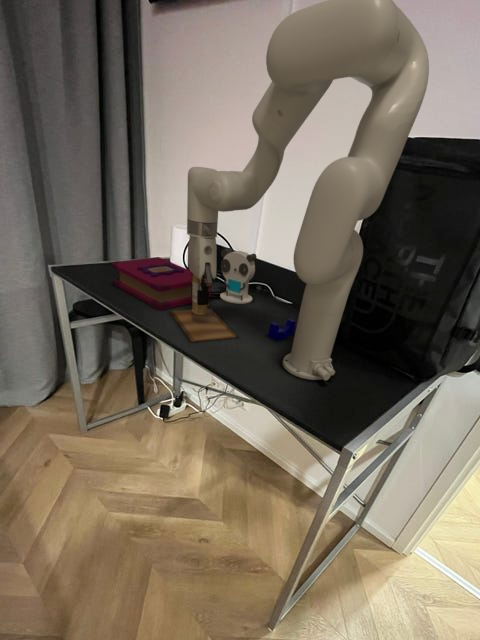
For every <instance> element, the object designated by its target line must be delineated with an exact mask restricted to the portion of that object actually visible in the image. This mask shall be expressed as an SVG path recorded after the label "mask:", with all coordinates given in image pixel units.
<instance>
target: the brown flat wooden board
mask: <svg viewBox="0 0 480 640" xmlns="http://www.w3.org/2000/svg"><path fill="white" fill-rule="evenodd" d="M170 314H171V316H172V317H173V318H174V320H175V321H176V322H177V324H178V326H179V327H180V328H181V330H182V331H183V333H184V334H185V335H186V336H187V338H188V339H189V341H190V342H191V343H192V342H201V341H203V342H204V341H213V340H223V339H233V338H237V334H236V333H235V332H234V331H233V330H232V329H231V328H230V327H229V325H227V323H225V322H224V321H223V320H222V319H221V318H220V316H219V315H218V314H217V313H216V312H215V311H214V310H213V309H212V308H207V313H206V314H203V315H198V314H195V313H193V312H192V309H185V310H183V309H182V310H170Z"/></svg>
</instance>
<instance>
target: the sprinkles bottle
mask: <svg viewBox="0 0 480 640" xmlns="http://www.w3.org/2000/svg"><path fill="white" fill-rule="evenodd" d="M192 269H193V268H192ZM202 277H203V278H205V276H202ZM203 282H205V281H202V284H203ZM198 290H199V280H198V278H197V277H196V276H195V275H194V273H193V281H192V303H191V305H192V308H191V310H192V312H193V313H195V314H198V315H203V314H206V313H207V309H208V305H198V304H197V291H198Z"/></svg>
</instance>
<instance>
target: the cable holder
mask: <svg viewBox="0 0 480 640" xmlns="http://www.w3.org/2000/svg"><path fill="white" fill-rule="evenodd" d="M296 324H297V322H296V320H295V319H293V318H288V319H286V322H285V324H284V326H282V327H281V328H280V324H278V323H277V322H275V321H272V322H269V327H268V335H267V337H269V338H270V339H272V340H273V341H275V342H277V341H283V340H287V337H288V336H292V335H294V333H295V329H296Z"/></svg>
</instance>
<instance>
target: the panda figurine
mask: <svg viewBox="0 0 480 640" xmlns="http://www.w3.org/2000/svg"><path fill="white" fill-rule="evenodd" d="M220 257H222V258H223V259H222V260H221V263H220V270H221V273H222V276H223V277H224V281H223V284H224V286H225V287H226V289H225V290H226V291H224V292H221V293H220V295H219V297H220V299H221V300H222V301H225V302H227V303H230V304H238V305H244V304H250V303H252V301H253V297H252V295H250V294H249V285H250V281H251V280H252V279H253V278H254V276H255V272H256V265H255V264H256V263H255V261H256V260H257V257H258V256H257V254H256V253H248V252H246V251H242V250H235V251H233V249H232V248H231V247H228V248H223V249H222V250H221V252H220Z"/></svg>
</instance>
